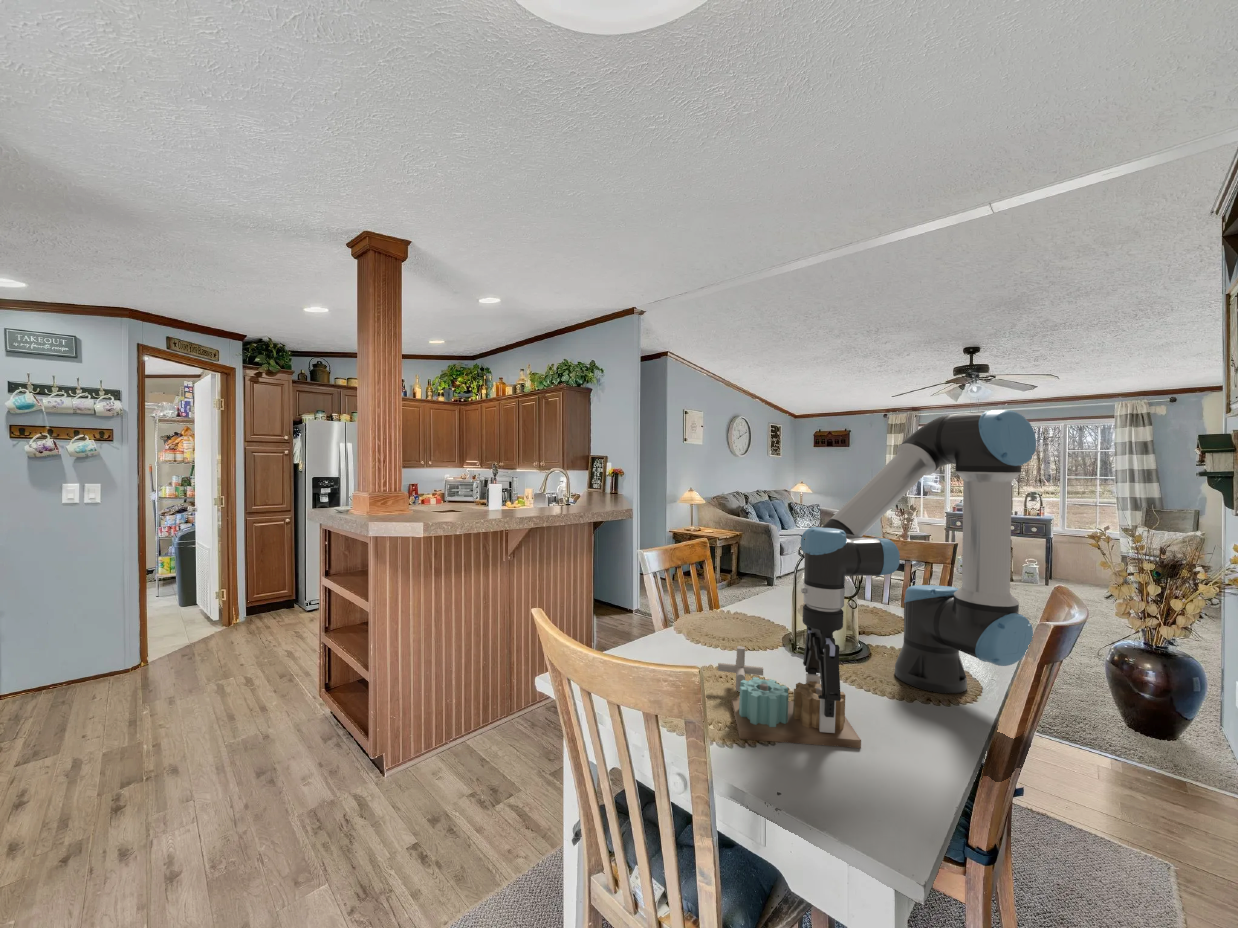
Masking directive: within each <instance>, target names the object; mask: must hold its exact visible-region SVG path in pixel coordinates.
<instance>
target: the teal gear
mask: <svg viewBox="0 0 1238 928" xmlns="http://www.w3.org/2000/svg"><path fill="white" fill-rule="evenodd" d="M760 684H767V685H768V691H762V690H760ZM739 698H740V699H739V714H740V716H741V717H747V718H748V719H749V720H750V723H752V724H755V725H757V724H758V723H761V724H768V726H769V727H776V724H779V723H780V722H781V723H784V724H786V723H787V722H788V701H789V688H788V687H787V686H786V685H780V684H779V683H777V680H775V679H771V678H770V679H769V680H768V679H760V678H759V677H756V676H755V677H752V678H751V679H749V680H746V679H745V680H742V681H741V682H740V693H739Z"/></svg>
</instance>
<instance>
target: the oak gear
mask: <svg viewBox="0 0 1238 928" xmlns="http://www.w3.org/2000/svg"><path fill="white" fill-rule="evenodd" d="M817 687H821V683H820V684H817V682H815V681H810V683H806V682H805V683H802V682H800V681H799V682H797V683H795V688H793V717H794V719H800V720H801V722H802V725H803V726H805V727H808V728H809V727H811V726H812V727H815V728H819V714H820V699H819V698H818V696H819V695H817V694H816V688H817ZM840 694H841V700H840V701H836V715H835V728H836V729H838V730H841V729H843V728H844V723H845V717H846V694H845V692H844V691H840Z"/></svg>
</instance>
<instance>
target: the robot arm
mask: <svg viewBox="0 0 1238 928" xmlns="http://www.w3.org/2000/svg"><path fill="white" fill-rule="evenodd" d="M1036 448H1037V435H1036V433H1035V430H1034V427H1033V426H1032V424H1031V422H1030V421H1029V420H1027V419H1026V417H1025V416H1024V415H1023V414H1021V413H1019V412H1016V411H1014V410H1011V409H1010V410H1009V409H1003V410H1002V409H997V410H996V409H991V410H983V411H974V412H973V411H972V412H962V413H950V414H949V413H948V414H945V415H942V416H938V417H937V418H934V419H932V420H930V421H929V422H927V423H926V424H924V425H922V426H921V427H919V428H918V429H917V430H915V432H913V433H912V434H910V436H908V437H907V438H906V439H905V440H904V441H903V442H901V444H899V445H898V446H897V449H896V455H894V457H892V458H891V459H890V460H889V461H888V463H886V464H885V465H884V466H883V467H882V468H881V469H880V470H879V471H878V472H877V473H876V474H875V475H874V476H872V478H871V479H870V480H868V482H867V483H866V484H864V485H863V486H862V488H861V489H860V490H858V491H857V492H855V494H854V495H853V496H852V497H851V498H850V499H849V500H848V501H847V502H846V503H844V505H843V506H842V507H841V508H840V509H838V511H836V513H835V514H834V515H833V516H832V517H830V519H828V520H827V521H826V522H825V523H824V524H823V525H822V526H813V527H809V528H807V529H806V530H805V531H804V532H803V533H802V535H801V537H800V548H801V551H802V553H803V554H804V562H803V563H804V564H803V565H804V566H803V568H804V571H803V573H804V574H803V588H801V589H800V593H801V594H803V603H804V605H802V623H803V625H805V627H806V635H805V636H806V637H805V643H804V654H803V661H802V665H803V667H805V668H804V670H805V684H806V683H810V681H815V682H817V684H821V689H822V695H819V696H818V698H819V699H820V714H819V731H820V732H827V733H835V715H836V701H840V700H841V694H840V692H841V677H840V676H841V674H840V649H841V647H840V646H839V644H836V640H835V637H834V635H833V634H834V632H836V631H840V630H842V629H843V628H844V610H843V609H844V607H845V587H846V586H845V581H846V577H859V576H860V577H863V576H865V577H867V576H868V577H870V576H871V577H872V576H875V577H879V576H885V575H892V574H893V573H895V572H896V571H897V569H899V566H900V562H901V561H900V560H901V559H900V557H901V555H900V554H901V553H900V550H899V549H898V546H897V544H895V542H893V541H892V540H891V539H889V538H884V537H877V536H875V537H864V535H865V534H866V533H867V532H869V530H870V529H871V528H872V527H873V526H874V525H875V524H876V523H877V522H879V520H880V519H881V518H883V516H885V514H886V513H888V511H889V510H890V509H892V508H893V506H895V504H897V502H898V501H900V499H901V498H903V497H904V496H905V495H906V494H907V493H908V492H910V490H911V489H912V488H913V487H914V486H915V485H916V484H917V483H918V482H919V481H920V480H921V479H922V478H923V477H924V476H931V475H932V474H934V473H935V472H936V470H938V469H939V468H941V467H944V466H948V465H955V474H957V475H958V476H959V477H960V478H961V479H962V480H963V486H962V487H963V489H962V490H963V495H962V497H963V498H962V551H961V552H962V556H961V557H962V562H961V570H962V571H961V586H960V588H958V587H955V586H948V585H947V586H946V585H935V584H934V585H932V584H921V585H919V584H917V585H910V586H908V587H907V588H906V590H905V596H904V600H903V642H902V643H903V644H902V647H901V649H900V652H899V653H898V656H897V658H896V661H895V665H894V675H895V677H896V678H898V680H899V681H901V682H903V683H905V684H907V685H909V686H911V687H914V688H916V689H917V688H918V689H920V690H924V691H927V690H928V692H932V691H933V693H937V692H938V693H939V694H947V693H955V694H961V693H963V691H964V692H965V691H966V690H967V689H968V679H967V678H968V677H967V675H966V672H965V671H966V670H965V668H964V665H963V662H962V660H961V659H962V658H961V656H960V652H962V653H964V654H967V655H969V656H971V657H974V658H976V659H978V660H979V661H981V662H984V663H990V664H992V665H995V666H998V667H999V666H1001V667H1009V666H1012V665H1014V664H1016V663H1018V662H1019V661H1021V660H1022V659H1023V657H1024V656H1026V654H1025V652H1026V650H1027V649H1028V645H1029V644H1030V642H1031V640H1032V641H1033V639H1032V636H1033V637H1034V628H1033V625H1032V623H1030V620H1029V619H1028V618H1027V617H1026V616H1024V615H1023V614H1020V613H1019V612H1020V610H1019V609H1020V606H1019V605H1020V604H1019V603H1020V602H1019V600H1018V599H1017V598H1016V597H1015V596H1013V594H1012V593H1011V558H1012V557H1011V556H1012V555H1011V551H1012V550H1011V548H1012V487H1013V486H1012V485H1013V484H1012V483H1013V481H1014V480H1015V479H1016V478H1017V477H1019V476H1020V475H1021V473H1022V471H1021V470H1022V466H1024V465H1025V464H1027V463H1029V462H1030V461H1031V460H1032V459H1033V455H1034V454H1035V453H1036V451H1037V449H1036ZM804 538H806V539H805V540H804Z"/></svg>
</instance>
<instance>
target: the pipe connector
mask: <svg viewBox="0 0 1238 928" xmlns="http://www.w3.org/2000/svg"><path fill="white" fill-rule="evenodd" d="M745 657H746V647H745V646H742V645H740V646H739V645H738V646H736V658H735V664H734V663H724V662H717V664H718V665H717V671H718V672H724V673H733V674H734V673H735V692H736V691H739V692H740V682H741V681H742V680H746V675H750V676H751V675H752V676H753V675H754V676H764V667H763V666H754V665H745V659H746V658H745Z"/></svg>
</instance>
